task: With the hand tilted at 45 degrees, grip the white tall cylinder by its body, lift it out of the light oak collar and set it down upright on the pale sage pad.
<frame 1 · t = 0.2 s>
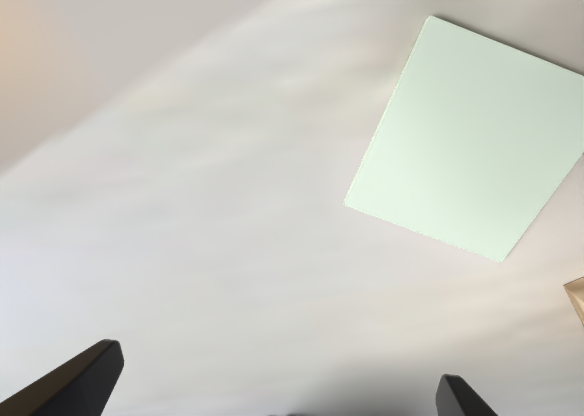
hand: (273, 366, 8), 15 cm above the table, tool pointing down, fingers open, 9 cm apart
pad: (465, 152, 20), on the table
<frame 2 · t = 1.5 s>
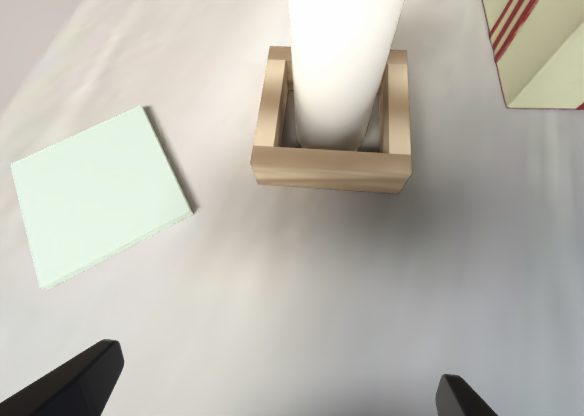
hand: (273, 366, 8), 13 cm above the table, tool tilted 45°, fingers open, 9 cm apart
white tall cylinder: (330, 130, 27), resting in collar
collar: (330, 130, 27), on the table
pad: (101, 190, 26), on the table
gift box: (554, 57, 29), on the table
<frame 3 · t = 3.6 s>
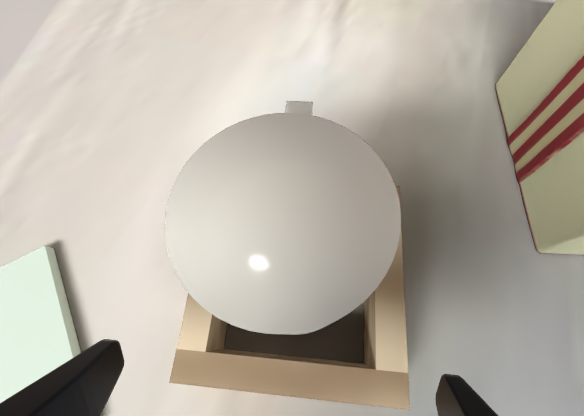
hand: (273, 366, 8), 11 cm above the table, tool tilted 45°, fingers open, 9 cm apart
white tall cylinder: (298, 284, 20), resting in collar
collar: (298, 284, 20), on the table
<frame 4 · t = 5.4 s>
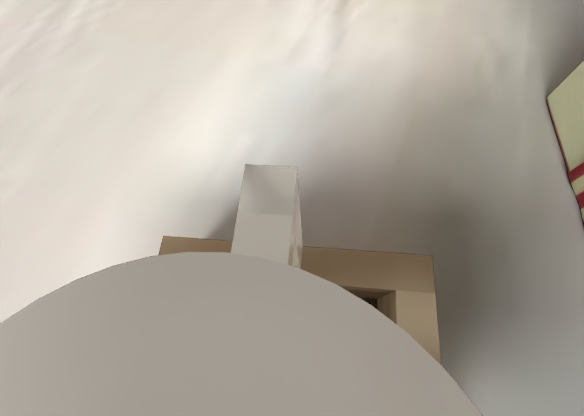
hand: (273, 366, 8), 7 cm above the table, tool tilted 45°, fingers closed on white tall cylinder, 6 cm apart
white tall cylinder: (285, 385, 14), resting in collar, touching gripper
collar: (285, 385, 14), on the table
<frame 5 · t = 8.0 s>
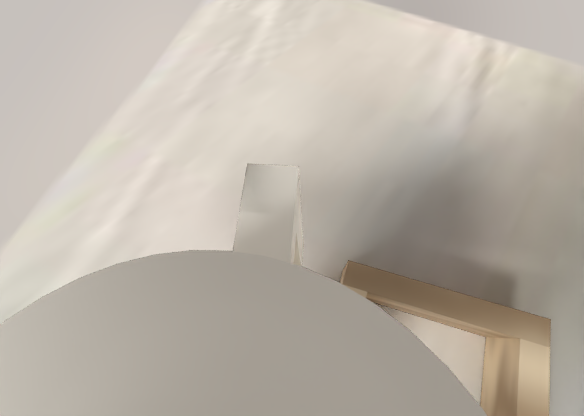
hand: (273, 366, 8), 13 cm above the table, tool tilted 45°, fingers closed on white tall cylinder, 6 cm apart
white tall cylinder: (286, 385, 14), point 6 cm above the table, touching gripper
collar: (409, 384, 19), on the table
when the fingers open (8 cm above the table, at t = 10.7 s): white tall cylinder stays where it is, resting on pad.
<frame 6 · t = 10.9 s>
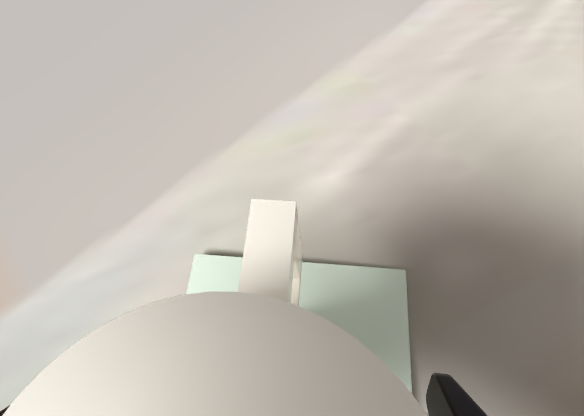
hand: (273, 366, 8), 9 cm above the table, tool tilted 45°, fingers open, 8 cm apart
white tall cylinder: (287, 385, 15), point 1 cm above the table, touching pad
pad: (288, 379, 16), on the table
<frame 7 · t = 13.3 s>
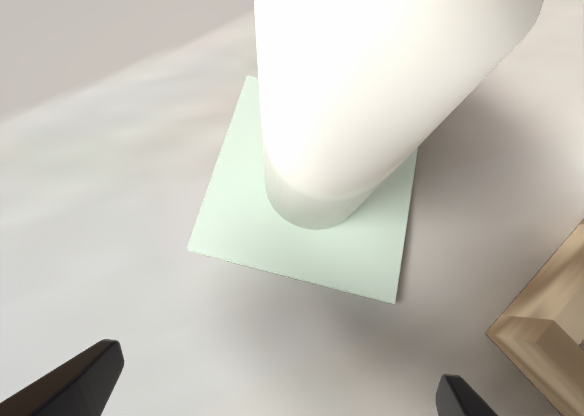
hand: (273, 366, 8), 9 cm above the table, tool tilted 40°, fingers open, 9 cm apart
white tall cylinder: (314, 181, 19), point 1 cm above the table, touching pad
pad: (312, 183, 19), on the table
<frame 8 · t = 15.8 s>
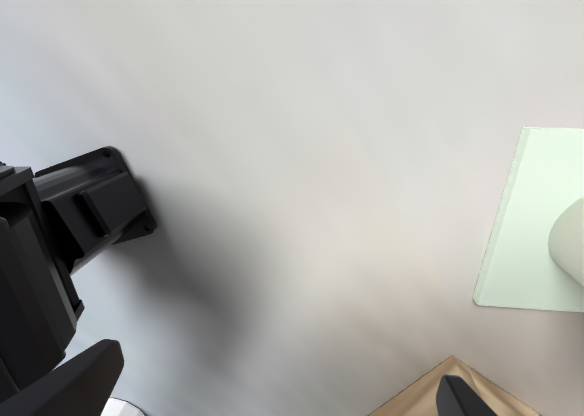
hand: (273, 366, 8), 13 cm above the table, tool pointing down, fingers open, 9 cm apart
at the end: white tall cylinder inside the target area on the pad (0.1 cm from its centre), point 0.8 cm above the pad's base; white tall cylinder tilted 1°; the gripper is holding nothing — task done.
